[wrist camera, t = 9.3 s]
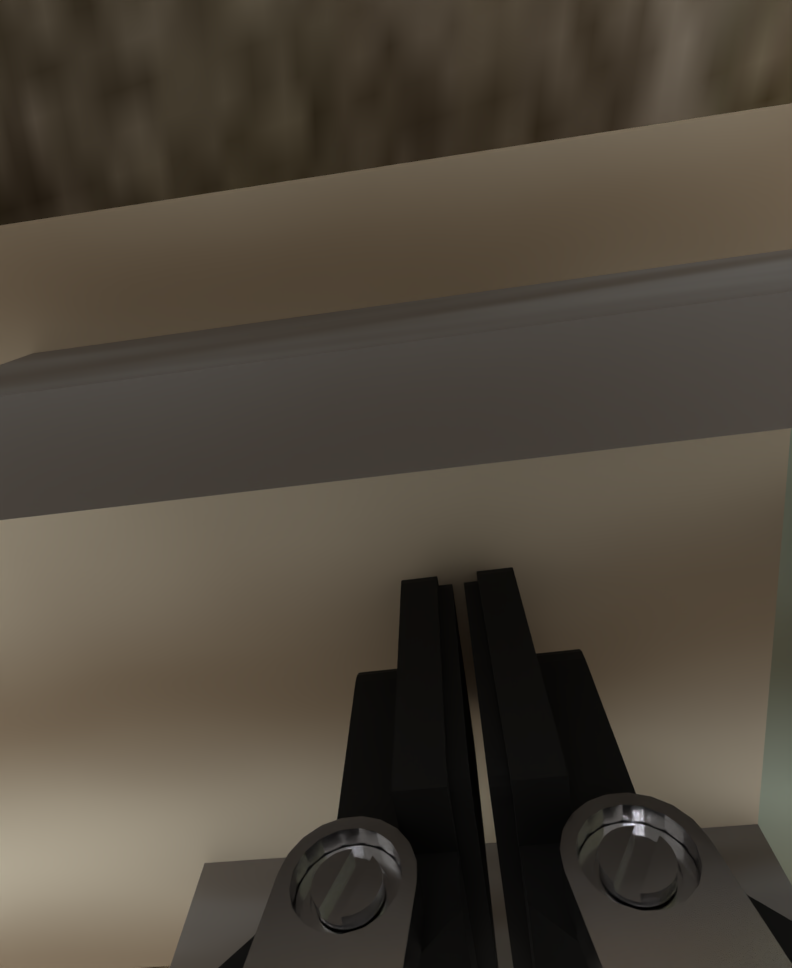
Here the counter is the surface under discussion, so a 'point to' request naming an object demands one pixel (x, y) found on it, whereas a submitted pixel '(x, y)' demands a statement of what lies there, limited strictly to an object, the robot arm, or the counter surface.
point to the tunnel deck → (383, 504)
